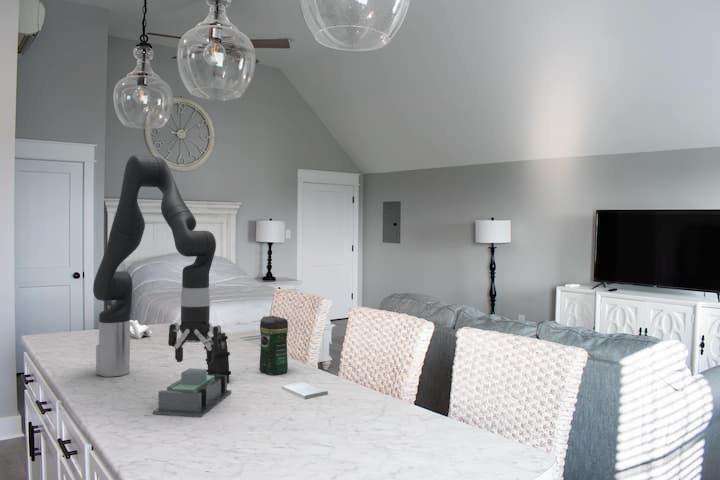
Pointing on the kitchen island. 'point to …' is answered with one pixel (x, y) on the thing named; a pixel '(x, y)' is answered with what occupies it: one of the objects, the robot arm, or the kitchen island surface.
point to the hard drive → (304, 390)
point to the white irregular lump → (139, 330)
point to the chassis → (192, 399)
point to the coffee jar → (273, 345)
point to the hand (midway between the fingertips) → (194, 362)
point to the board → (193, 387)
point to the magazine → (220, 359)
